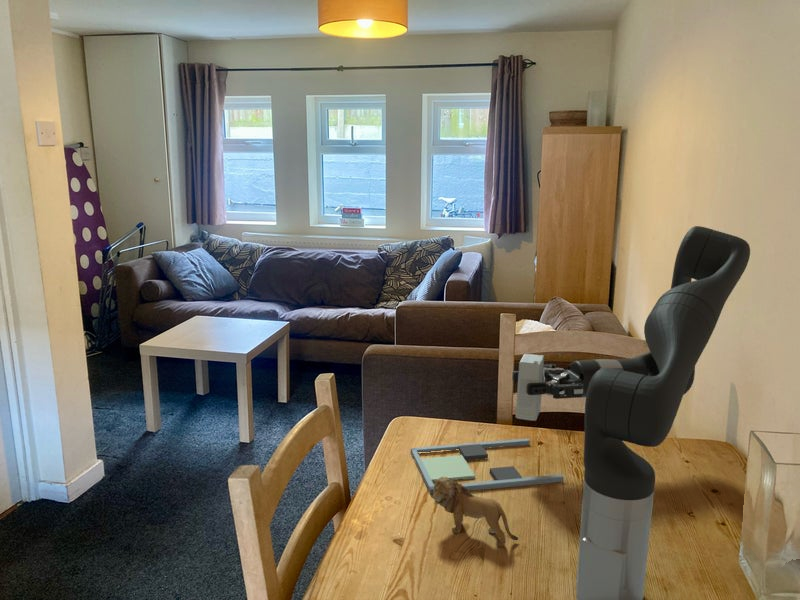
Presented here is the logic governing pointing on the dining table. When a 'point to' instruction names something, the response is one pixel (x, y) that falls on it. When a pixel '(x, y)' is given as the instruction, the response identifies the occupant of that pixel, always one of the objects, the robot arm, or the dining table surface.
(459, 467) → the pad
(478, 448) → the grey slab
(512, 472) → the grey square block
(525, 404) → the skincare box
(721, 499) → the dining table surface
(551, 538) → the dining table surface
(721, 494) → the dining table surface
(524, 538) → the dining table surface
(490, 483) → the lane rails
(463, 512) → the lion figurine
